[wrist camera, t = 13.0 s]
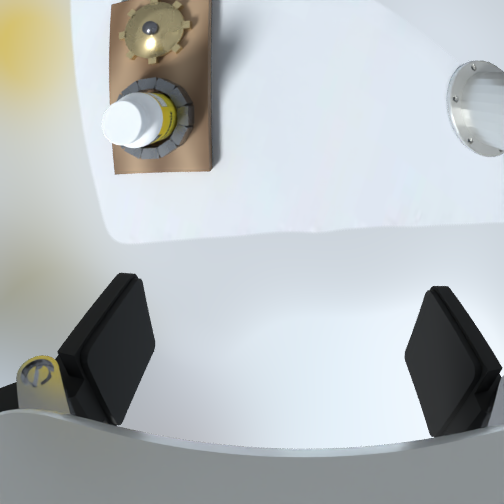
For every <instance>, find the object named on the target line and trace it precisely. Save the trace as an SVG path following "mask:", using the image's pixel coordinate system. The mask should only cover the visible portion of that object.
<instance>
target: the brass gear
mask: <svg viewBox="0 0 504 504" xmlns="http://www.w3.org/2000/svg"><path fill="white" fill-rule="evenodd" d="M183 8H184V6H183V5H182V4H181V3H179V2H178V1H177V0H176V1H175V2H174V3H173V4H172V5H171V4H169V3H165V2H161V0H150V4H148V5H145V6H143V7H142V8H140V9H139V10H137V11H136V10H134V9H131V10H130V12H129V13H128V14H127V15H128V16H130V17H131V18H130V19H129V21H128V23H127V25H126V28H125V31H124V32H119V40H122V41H123V40H125V43H126V45H127V47H128V49H129V50H130V51H129V52H128V53H127V54H126V56H127V57H128V58H129V59H131V60H135V59H136V58H137V56H139V57H142V58H146V59H148V64H150V65H155V64H159V58H161V57H163V56H166V55H168V54H169V53H171V52H172V51H174V52H175V53H177V54H179V53H180V51H181V50H182V49H183V47H182V46H180V45H179V44H180V43H181V41H182V39H183V37H184V34H185V30H192V22H191V21H190V20H189V21H185V19H184V16H183V14H182V13H181V12H180V11H181V10H182V9H183Z"/></svg>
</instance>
